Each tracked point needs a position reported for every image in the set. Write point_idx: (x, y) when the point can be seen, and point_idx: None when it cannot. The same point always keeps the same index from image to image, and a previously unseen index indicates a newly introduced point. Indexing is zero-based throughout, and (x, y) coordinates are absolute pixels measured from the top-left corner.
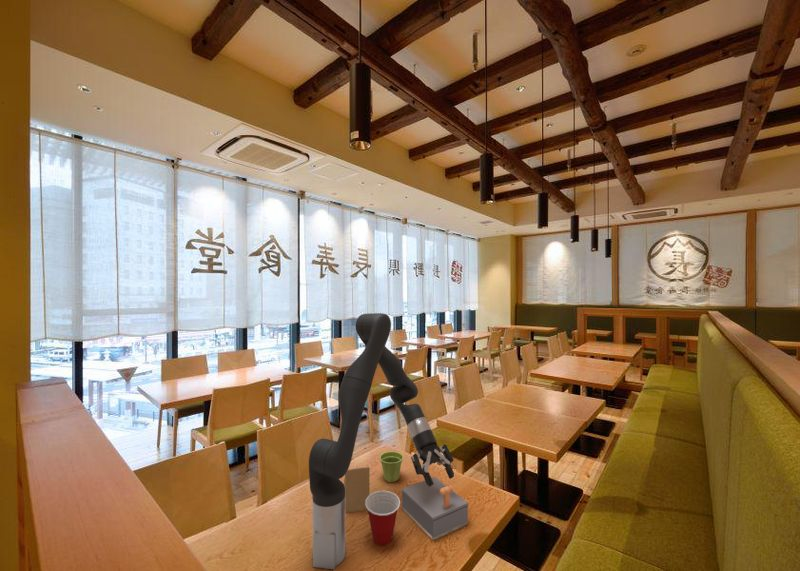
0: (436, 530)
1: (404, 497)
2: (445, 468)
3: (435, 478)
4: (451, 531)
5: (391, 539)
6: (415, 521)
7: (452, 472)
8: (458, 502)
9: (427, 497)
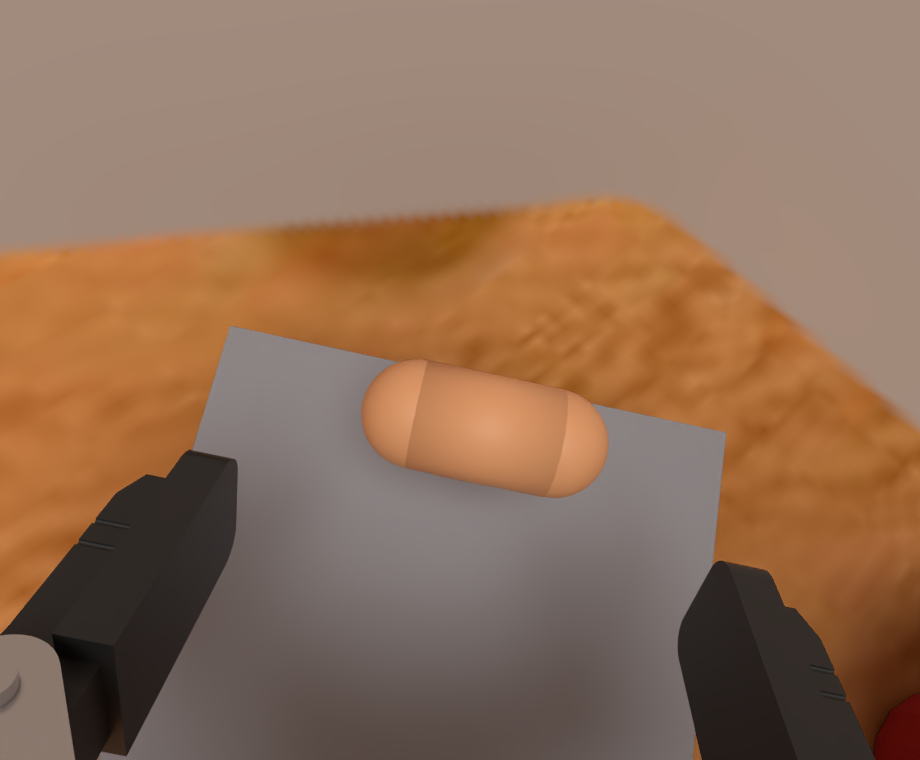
0: None
1: None
2: (132, 726)
3: None
4: None
5: (898, 706)
6: None
7: (163, 488)
8: (306, 403)
9: (504, 750)
